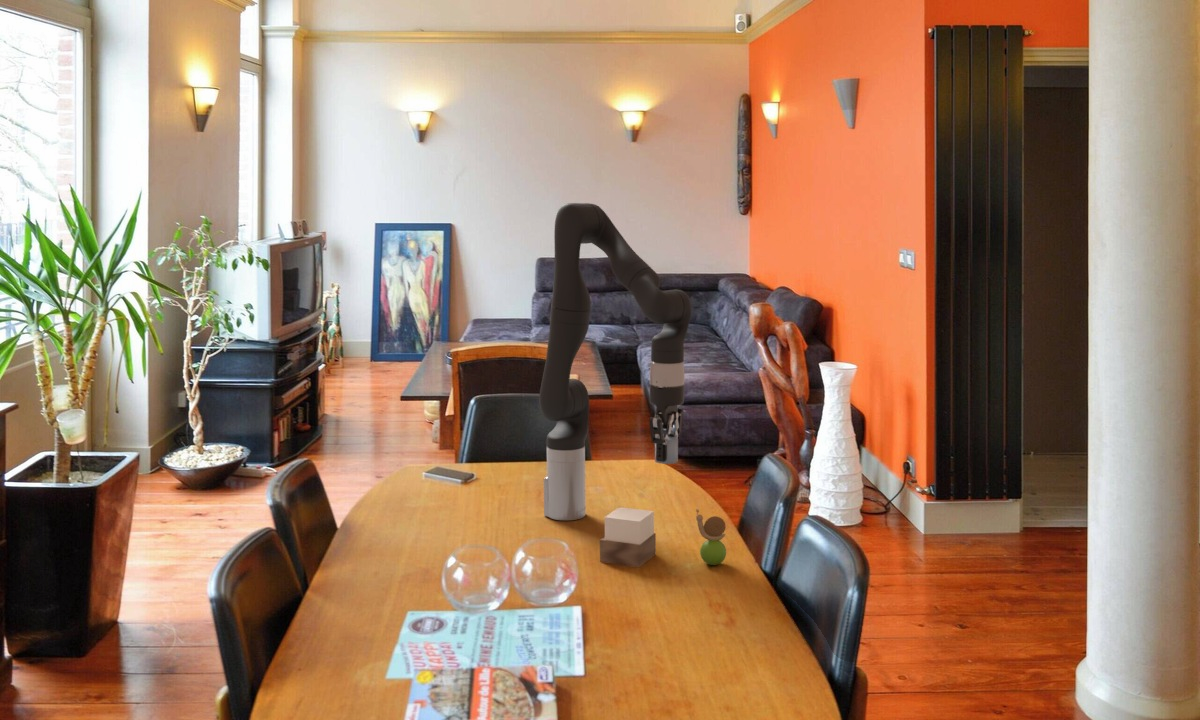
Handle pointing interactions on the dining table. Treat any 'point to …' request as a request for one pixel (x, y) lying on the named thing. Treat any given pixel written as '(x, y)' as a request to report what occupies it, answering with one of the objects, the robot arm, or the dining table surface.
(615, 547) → the tower base
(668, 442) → the grey blue cylinder
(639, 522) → the tower top
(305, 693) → the dining table surface
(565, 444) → the robot arm
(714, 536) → the snail figurine
